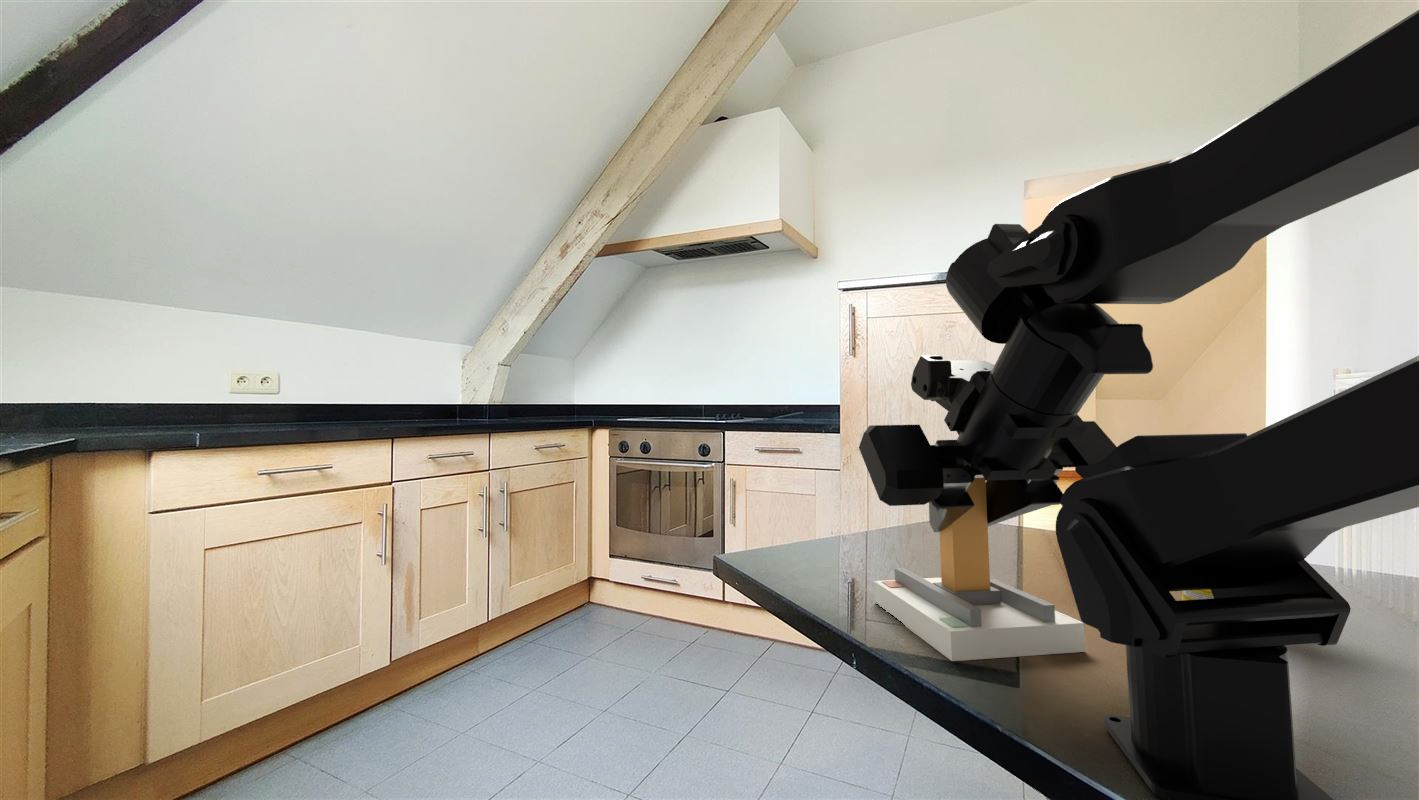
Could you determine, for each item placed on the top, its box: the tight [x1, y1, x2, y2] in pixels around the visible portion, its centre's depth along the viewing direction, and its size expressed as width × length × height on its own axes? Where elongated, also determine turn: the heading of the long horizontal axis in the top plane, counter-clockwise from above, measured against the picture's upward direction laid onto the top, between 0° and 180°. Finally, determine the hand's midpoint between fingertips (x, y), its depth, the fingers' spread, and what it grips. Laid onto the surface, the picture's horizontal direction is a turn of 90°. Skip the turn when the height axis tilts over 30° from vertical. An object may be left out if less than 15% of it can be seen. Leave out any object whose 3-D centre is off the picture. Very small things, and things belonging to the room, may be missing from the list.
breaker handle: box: [933, 478, 1001, 605], centre depth 46 cm, size 3×4×12 cm
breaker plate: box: [873, 567, 1086, 662], centre depth 45 cm, size 13×10×3 cm
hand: (952, 526), depth 47 cm, fingers closed on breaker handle, 3 cm apart
